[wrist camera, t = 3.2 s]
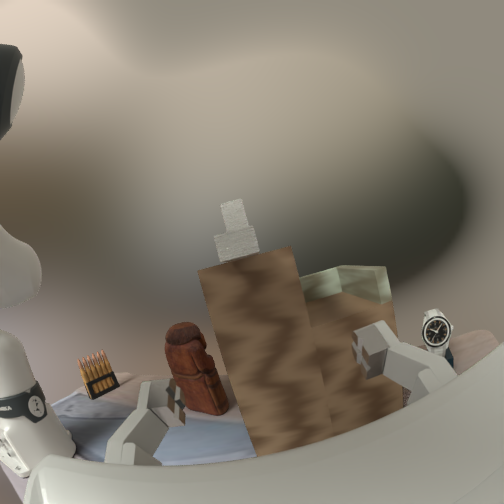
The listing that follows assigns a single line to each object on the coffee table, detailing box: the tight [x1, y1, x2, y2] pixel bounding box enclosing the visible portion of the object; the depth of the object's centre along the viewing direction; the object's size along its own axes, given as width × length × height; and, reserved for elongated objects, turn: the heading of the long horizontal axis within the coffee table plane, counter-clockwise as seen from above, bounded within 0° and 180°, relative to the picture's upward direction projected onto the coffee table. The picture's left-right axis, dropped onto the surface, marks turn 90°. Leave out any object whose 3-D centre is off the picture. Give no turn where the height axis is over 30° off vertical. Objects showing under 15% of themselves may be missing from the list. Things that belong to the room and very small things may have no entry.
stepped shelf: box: [198, 246, 403, 457], centre depth 36 cm, size 20×16×26 cm
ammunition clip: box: [78, 350, 120, 400], centre depth 61 cm, size 11×2×12 cm, turn 154°
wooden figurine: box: [165, 322, 229, 416], centre depth 48 cm, size 12×6×18 cm, turn 55°
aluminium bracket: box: [214, 199, 260, 262], centre depth 29 cm, size 3×18×8 cm, turn 0°
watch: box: [421, 309, 453, 368], centre depth 34 cm, size 6×8×11 cm
